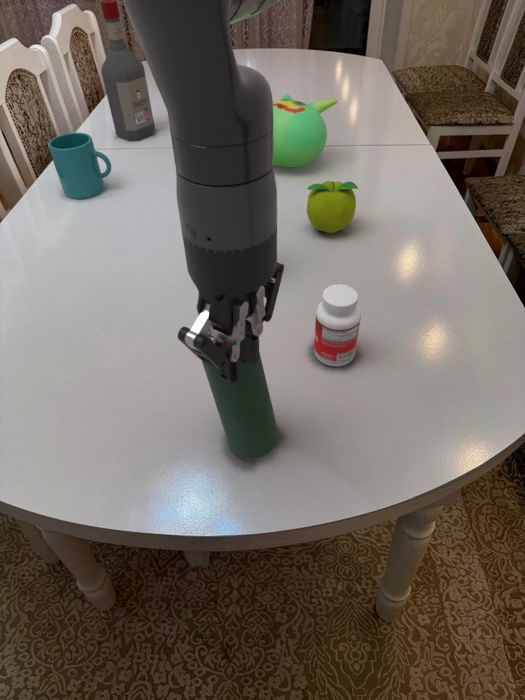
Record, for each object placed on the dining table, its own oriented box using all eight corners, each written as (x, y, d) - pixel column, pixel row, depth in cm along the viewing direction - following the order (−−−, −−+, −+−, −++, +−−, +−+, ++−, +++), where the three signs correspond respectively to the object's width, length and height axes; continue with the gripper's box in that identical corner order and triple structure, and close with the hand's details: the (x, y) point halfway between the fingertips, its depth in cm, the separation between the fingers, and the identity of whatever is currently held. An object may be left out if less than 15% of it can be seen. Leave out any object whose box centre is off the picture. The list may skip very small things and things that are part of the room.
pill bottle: (322, 334, 77) (327, 276, 69) (360, 345, 75) (369, 287, 67) (307, 360, 73) (309, 302, 65) (346, 373, 71) (354, 314, 63)
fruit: (351, 243, 94) (357, 194, 87) (303, 239, 96) (304, 191, 89) (355, 218, 101) (360, 171, 94) (309, 215, 102) (311, 168, 95)
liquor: (159, 132, 135) (136, 0, 114) (133, 143, 131) (104, 7, 110) (138, 124, 140) (112, -4, 119) (112, 135, 135) (80, 3, 114)
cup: (112, 199, 109) (98, 149, 101) (58, 200, 110) (41, 149, 102) (122, 180, 116) (110, 131, 108) (71, 181, 116) (56, 132, 108)
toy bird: (238, 164, 120) (234, 100, 109) (282, 141, 129) (282, 79, 118) (297, 186, 111) (299, 117, 101) (340, 159, 120) (346, 94, 110)
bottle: (280, 419, 64) (251, 292, 54) (277, 457, 59) (245, 325, 49) (232, 423, 66) (194, 300, 55) (226, 461, 60) (182, 332, 50)
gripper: (213, 282, 33) (230, 433, 45) (314, 194, 41) (305, 343, 54) (131, 249, 36) (167, 399, 48) (240, 173, 44) (248, 318, 56)
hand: (240, 369), depth 51 cm, fingers closed
